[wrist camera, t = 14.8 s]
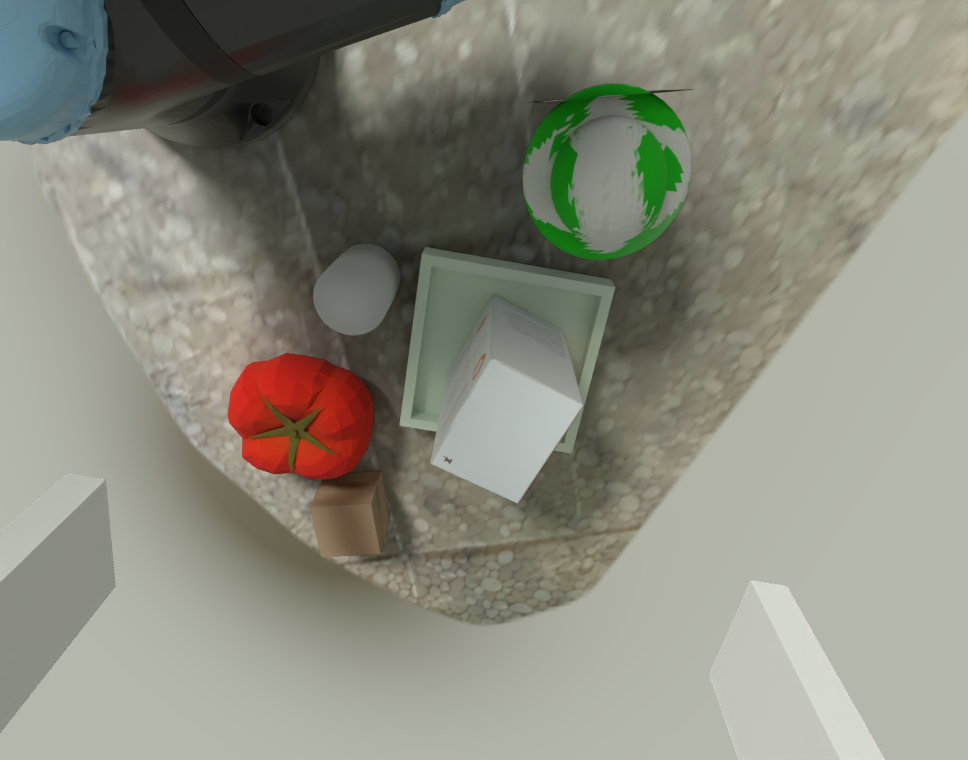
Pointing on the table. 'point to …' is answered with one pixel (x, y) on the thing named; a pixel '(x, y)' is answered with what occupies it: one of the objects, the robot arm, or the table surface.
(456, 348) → the tray
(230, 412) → the tomato
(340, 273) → the grey cylinder
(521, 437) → the small box
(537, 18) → the table surface
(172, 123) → the robot arm
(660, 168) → the toy
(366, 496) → the walnut cube
